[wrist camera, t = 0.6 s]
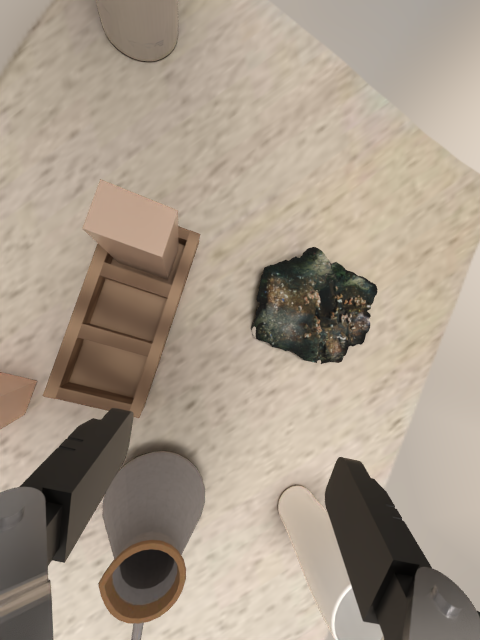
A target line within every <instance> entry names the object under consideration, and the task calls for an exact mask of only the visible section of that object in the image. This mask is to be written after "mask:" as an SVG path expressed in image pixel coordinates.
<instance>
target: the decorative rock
mask: <svg viewBox="0 0 480 640" xmlns="http://www.w3.org/2000/svg"><path fill="white" fill-rule="evenodd" d="M316 290H318V291H316ZM376 294H377V287H376V285H375V284H373V283H371V282H370V281H368V280H367V279H366V278H364V277H361V276H357V275H356V274H355V273H353V272H350V271H347V270H345V268H344V267H343V266H342V265H340V264H338V263H337V262H335V263H333V264H331V263H330V262H329V260H328V259H327V257H326V256H325V255H324V253H323V252H322V251H321V250H320V249H318V248H316V247H312V248H309V249H307V250H306V251H305V252H304V253H303V255H302V256H301V257H300V258H297V257H295V258H292V259H291V260H289V261H287V260H285V261H282V262H279V263H277V264H275V265H270V266H268V267H265V268H264V271H263V274H262V276H261V282H260V286H259V292H258V296H257V302H259V303H260V306H259V308H258V309H257V311H256V318H255V321H254V323H253V325H252V327H251V330H252V328H253V327H254V326H255V327H256V339H258V340H260V341H264V342H267V343H269V344H270V345H272V347H276V348H280V349H283V350H285V351H290V352H294V353H295V354H297V356H299V357H301V358H302V359H303V360H306V361H311V362H315V363H317V360H321V364H323V363H327V362H337V363H339V362H342V360H343V356H345V355H346V353H347V350H348V347H349V346H355V345H356V344H362V343H363V342H364V340H365V336H366V333H367V332H368V331H369V329H370V321H369V318H370V314H369V313H368V312H367V310H369V309H371V304H372V303H373V301H374V297H375V295H376ZM252 335H253V334H252Z"/></svg>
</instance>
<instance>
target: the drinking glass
mask: <svg viewBox="0 0 480 640" xmlns="http://www.w3.org/2000/svg"><path fill="white" fill-rule="evenodd" d="M278 512H279V515H280V518H281V520H282V522H283V523H284V526H285V528H286V530H287V533H288V535H289V538H290V540H291V543H292V546H293V548H294V551H295V553H296V556H297V558H298V561H299V563H300V566H301V569H302V571H303V574H304V576H305V579H306V581H307V584H308V586H309V589H310V591H311V593H312V596H313V598H314V600H315V602H316V604H317V606H318V609H319V611H320V613H321V615H322V617H323V619H324V620H325V622H326V624H327V626H328V628H329V630H330V632H331V634H332V635H333V637H334V639H335V640H381V638H382V636H383V633H382V630H381V628H380V625H379V624H374V623H368V622H363V620H362V617H361V614H360V611H359V608H358V605H357V601H356V598H355V595H354V592H353V589H352V586H351V583H350V580H349V577H348V574H347V571H346V567H345V564H344V561H343V558H342V555H341V552H340V549H339V546H338V543H337V540H336V537H335V534H334V530H333V527H332V524H331V521H330V518H329V515H328V512H327V511H326V510H325V509H324V508H323V506H322V505H321V504H320V503H319V502H318V501H317V500H316V499H315V498H314V496H313V495H312V494H311V492H310V491H309V490H308V489H306V488H305V487H302V486H293V487H290V488H288V489H287V490H286V491H285V492H284V493H283V494H282V495H281V497H280V499H279V503H278Z"/></svg>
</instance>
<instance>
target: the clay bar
mask: <svg viewBox="0 0 480 640" xmlns="http://www.w3.org/2000/svg"><path fill="white" fill-rule="evenodd" d="M36 383H37V381H36V380H32V379H27V378H23V377H19V376H15V375H11V374H6V373H2V372H0V429H2V428H3V427H5V426H7V425H8V424H10V423H12V422H13V421H15V420H17V419H18V418H20V417H21V416H23V415H25V413H26V410H27V407H28V405H29V402H30V399H31V396H32V394H33V391H34V388H35V385H36Z"/></svg>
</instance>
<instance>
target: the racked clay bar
mask: <svg viewBox="0 0 480 640" xmlns="http://www.w3.org/2000/svg"><path fill="white" fill-rule="evenodd" d="M82 229H83V230H84V231H86V232H87V233H88V234H89V235H90V236H91V237H92V238H93V239H94V240H95V241H96V242H97V243H98V244H99V245H100V246H101V247H102V248H104V249H105V250H106V251H107V252H108V253H109V254H110V255H111V256H112V257H113V258H114V259H115V260H116V261H117V262H118V263H121V264H124V265H127V266H130V267H133V268H136V269H138V270H141V271H144V272H147V273H150V274H153V275H156V276H159V277H162V278H165V279H167V280H168V279H169V276H170V274H171V271H172V268H173V265H174V262H175V259H176V256H177V253H178V250H179V241H178V210H175V209H173V208H171V207H168V206H166V205H163V204H161V203H158V202H156V201H153V200H151V199H148V198H146V197H143V196H141V195H138V194H136V193H133V192H131V191H128V190H126V189H123V188H121V187H118V186H116V185H113V184H111V183H108V182H106V181H103V180H101V179H100V182H99V184H98V187H97V190H96V193H95V195H94V198H93V201H92V204H91V206H90V209H89V212H88V214H87V217H86V220H85V223H84V225H83V228H82Z"/></svg>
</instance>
